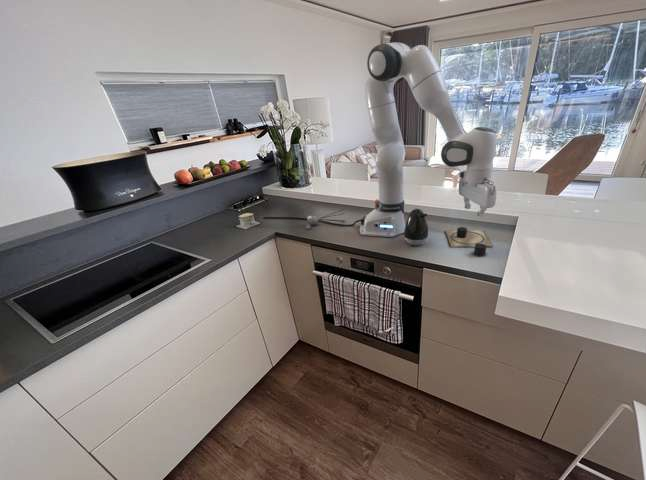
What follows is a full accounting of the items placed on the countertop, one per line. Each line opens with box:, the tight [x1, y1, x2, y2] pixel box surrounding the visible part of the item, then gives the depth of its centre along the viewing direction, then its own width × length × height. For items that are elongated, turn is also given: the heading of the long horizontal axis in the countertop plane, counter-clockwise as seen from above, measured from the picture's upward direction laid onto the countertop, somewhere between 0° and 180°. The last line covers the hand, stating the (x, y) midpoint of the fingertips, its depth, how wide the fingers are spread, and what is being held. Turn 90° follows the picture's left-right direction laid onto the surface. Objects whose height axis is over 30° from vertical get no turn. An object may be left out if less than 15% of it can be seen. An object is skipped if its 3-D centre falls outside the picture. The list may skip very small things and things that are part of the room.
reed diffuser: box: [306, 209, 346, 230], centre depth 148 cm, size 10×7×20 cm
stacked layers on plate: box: [236, 212, 261, 230], centre depth 154 cm, size 10×9×6 cm
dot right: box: [473, 244, 487, 257], centre depth 110 cm, size 4×4×4 cm
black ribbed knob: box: [456, 226, 468, 238], centre depth 124 cm, size 4×4×4 cm
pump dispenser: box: [403, 208, 429, 246], centre depth 120 cm, size 10×10×15 cm
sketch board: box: [445, 229, 492, 248], centre depth 123 cm, size 16×16×1 cm
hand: (473, 212), depth 111 cm, fingers open, 8 cm apart
